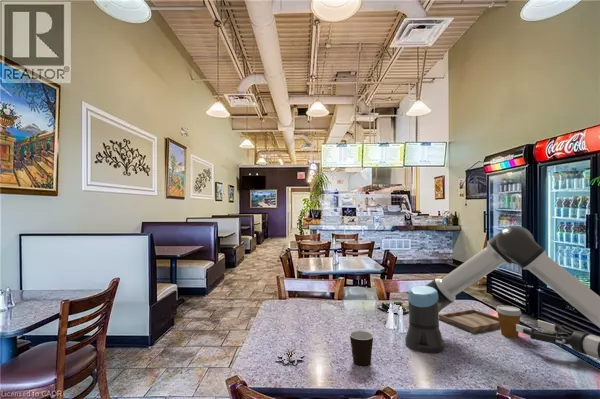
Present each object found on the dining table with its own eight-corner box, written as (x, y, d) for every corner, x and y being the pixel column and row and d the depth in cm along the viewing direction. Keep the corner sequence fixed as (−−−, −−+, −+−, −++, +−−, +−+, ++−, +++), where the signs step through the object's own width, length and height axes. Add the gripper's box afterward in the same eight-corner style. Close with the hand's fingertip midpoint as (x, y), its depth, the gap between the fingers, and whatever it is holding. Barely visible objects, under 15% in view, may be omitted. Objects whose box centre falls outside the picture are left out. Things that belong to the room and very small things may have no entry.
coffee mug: (369, 370, 109) (368, 341, 109) (346, 364, 113) (346, 336, 114) (379, 357, 119) (378, 331, 119) (358, 352, 123) (357, 326, 124)
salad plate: (390, 302, 193) (390, 295, 193) (418, 309, 180) (418, 300, 180) (373, 309, 179) (373, 301, 179) (402, 316, 166) (401, 308, 167)
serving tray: (472, 333, 141) (472, 327, 142) (438, 319, 160) (438, 314, 160) (508, 325, 150) (508, 320, 150) (472, 313, 169) (472, 309, 169)
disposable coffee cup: (520, 333, 141) (518, 306, 142) (525, 340, 132) (523, 312, 133) (495, 330, 145) (494, 304, 146) (498, 337, 136) (497, 309, 137)
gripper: (567, 361, 107) (507, 338, 127) (609, 349, 116) (547, 330, 136) (566, 339, 108) (506, 320, 127) (607, 329, 116) (546, 312, 136)
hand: (527, 325), depth 132 cm, fingers open, 13 cm apart
